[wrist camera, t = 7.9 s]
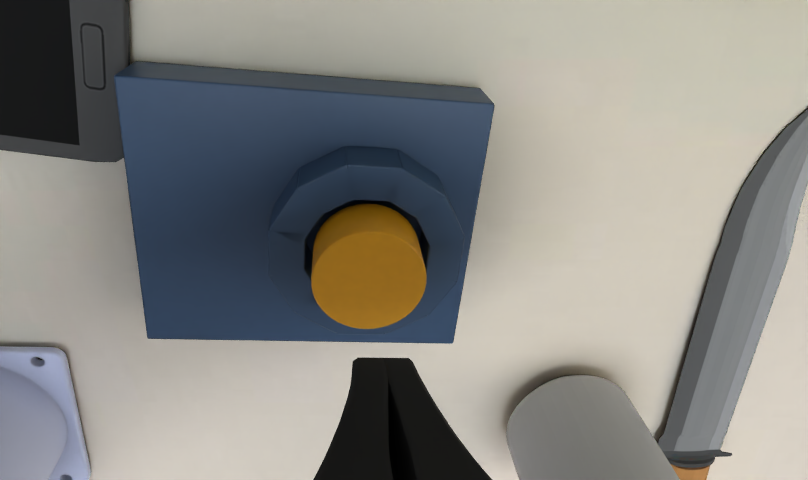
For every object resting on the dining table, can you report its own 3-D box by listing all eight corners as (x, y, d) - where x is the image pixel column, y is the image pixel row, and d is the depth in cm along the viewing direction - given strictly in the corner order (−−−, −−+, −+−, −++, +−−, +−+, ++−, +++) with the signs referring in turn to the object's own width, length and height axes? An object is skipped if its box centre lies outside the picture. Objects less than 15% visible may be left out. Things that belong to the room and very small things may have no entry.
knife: (753, 88, 22) (880, 88, 22) (734, 81, 23) (855, 81, 23) (611, 591, 35) (691, 588, 36) (604, 571, 36) (681, 568, 37)
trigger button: (311, 293, 20) (309, 328, 19) (314, 200, 19) (312, 229, 17) (412, 296, 21) (420, 330, 19) (424, 205, 19) (433, 234, 17)
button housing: (161, 306, 24) (132, 371, 21) (134, 60, 20) (90, 89, 16) (444, 313, 26) (461, 373, 22) (481, 87, 21) (509, 119, 18)
